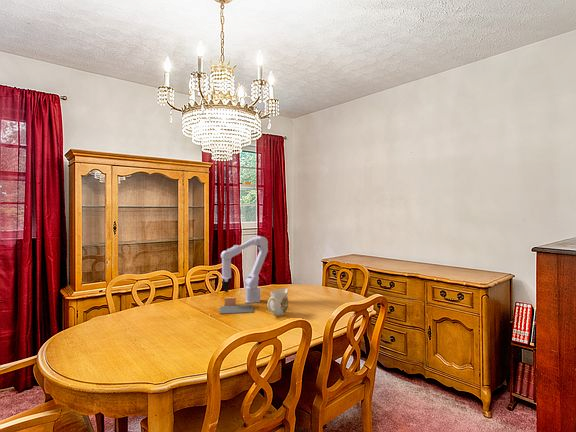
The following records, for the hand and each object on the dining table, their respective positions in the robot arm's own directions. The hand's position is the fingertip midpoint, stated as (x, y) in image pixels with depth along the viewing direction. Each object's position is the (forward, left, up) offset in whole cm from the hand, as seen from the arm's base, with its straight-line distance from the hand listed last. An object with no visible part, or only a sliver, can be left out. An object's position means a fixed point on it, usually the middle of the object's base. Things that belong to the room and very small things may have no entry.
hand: (226, 290), depth 220 cm
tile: (-2, +1, -10) cm, 10 cm away
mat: (-6, +12, -9) cm, 16 cm away
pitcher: (-30, +24, -10) cm, 40 cm away
